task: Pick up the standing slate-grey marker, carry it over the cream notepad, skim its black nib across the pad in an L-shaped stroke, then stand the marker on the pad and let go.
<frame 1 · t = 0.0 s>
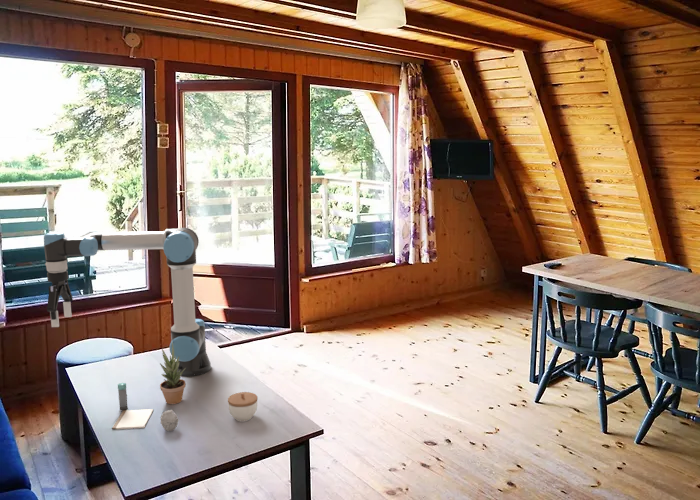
hand: (61, 321, 242), 28 cm above the table, fingers open, 13 cm apart
lidded jar: (243, 418, 218), on the table
notepad: (133, 419, 217), on the table
potted plant: (174, 401, 232), on the table
marker: (123, 409, 225), on the table
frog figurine: (170, 430, 209), on the table
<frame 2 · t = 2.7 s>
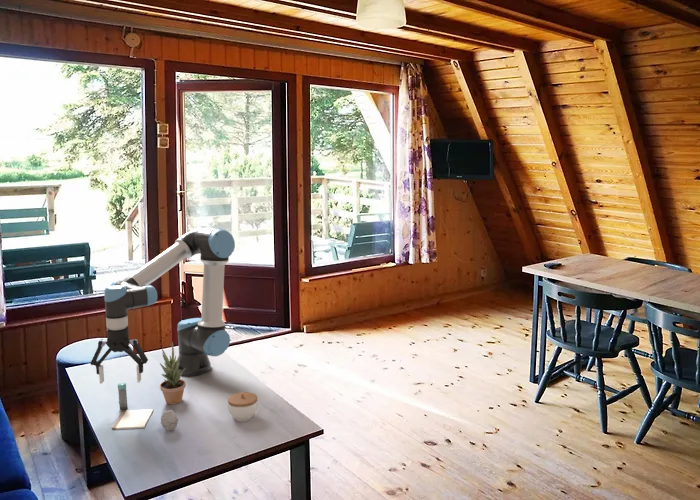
hand: (120, 381, 223), 11 cm above the table, fingers open, 13 cm apart
nothing on the table moved.
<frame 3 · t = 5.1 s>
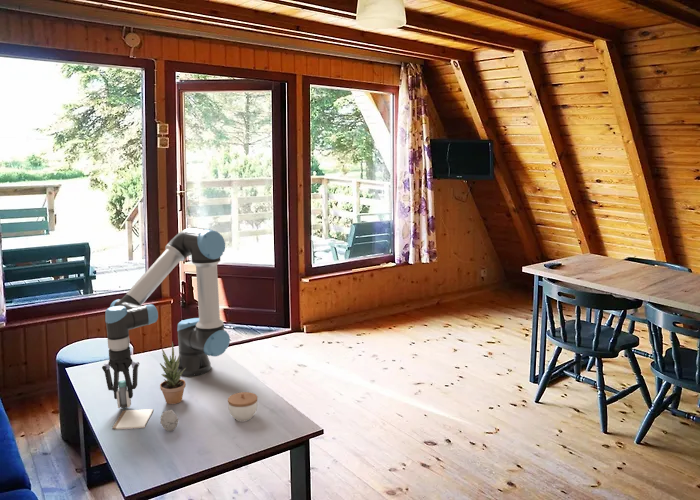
hand: (124, 406, 225), 1 cm above the table, fingers closed on marker, 3 cm apart
marker: (124, 406, 226), point 1 cm above the table, touching gripper
everything else where it was.
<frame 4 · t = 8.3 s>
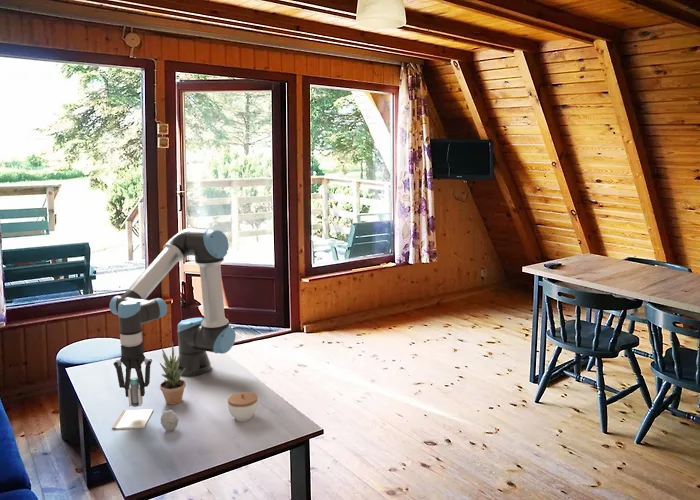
hand: (136, 404, 217), 5 cm above the table, fingers closed on marker, 3 cm apart
marker: (136, 405, 217), point 5 cm above the table, touching gripper
everything else where it was.
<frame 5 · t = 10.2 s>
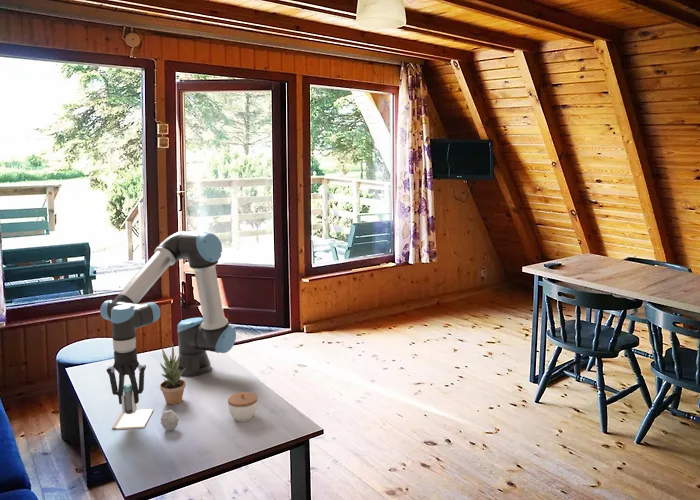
hand: (129, 411, 212), 5 cm above the table, fingers closed on marker, 3 cm apart
marker: (129, 412, 212), point 5 cm above the table, touching gripper
everything else where it was.
when the fingers open (5 cm above the table, at t = 11.6 s): marker drops 4 cm, resting on notepad.
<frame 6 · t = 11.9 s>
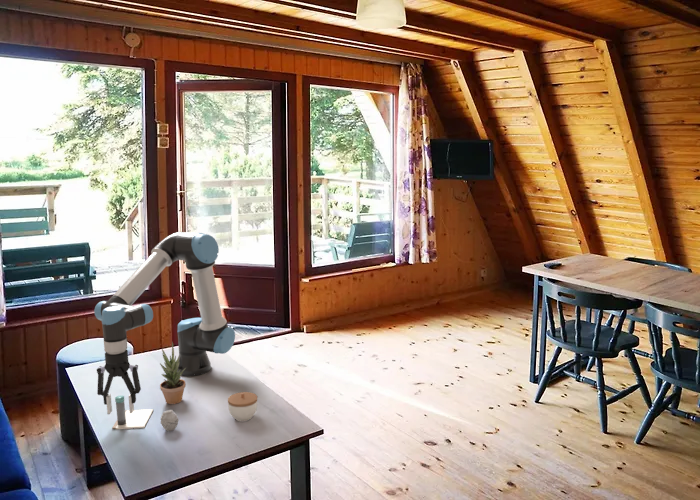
hand: (120, 411, 211), 5 cm above the table, fingers open, 7 cm apart
marker: (121, 423, 212), point 1 cm above the table, touching notepad
everything else where it was.
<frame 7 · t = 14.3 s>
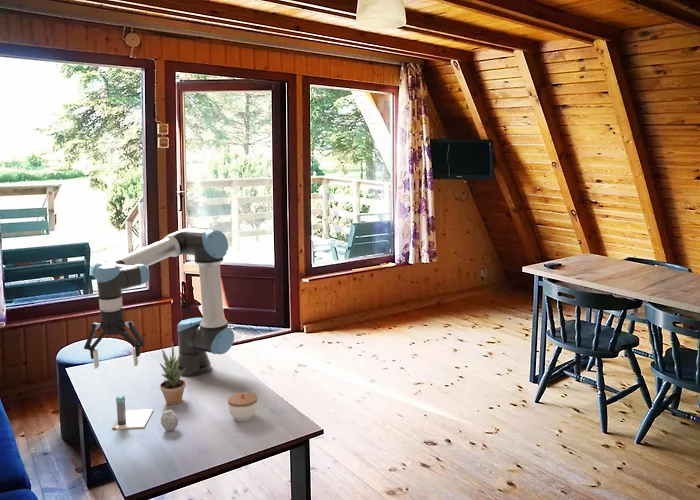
hand: (116, 366, 212), 21 cm above the table, fingers open, 13 cm apart
nothing on the table moved.
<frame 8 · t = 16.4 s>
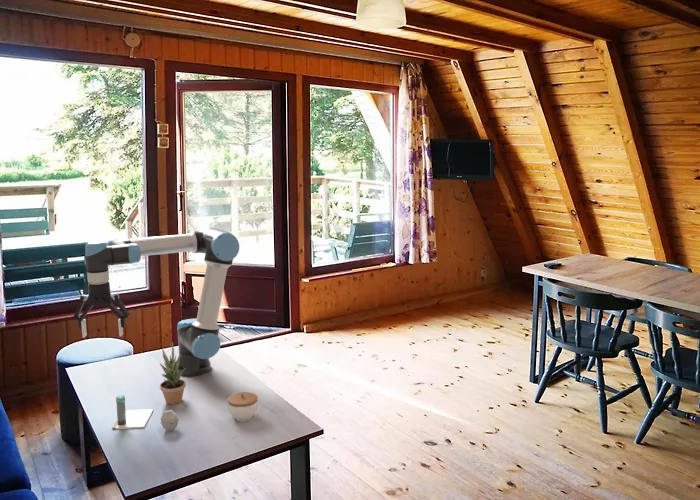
hand: (103, 336, 228), 27 cm above the table, fingers open, 13 cm apart
nothing on the table moved.
at the end: marker inside the target area on the notepad (4.9 cm from its centre), point 0.6 cm above the notepad's base; marker tilted 1°; marker moved 13.7 cm from its start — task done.
